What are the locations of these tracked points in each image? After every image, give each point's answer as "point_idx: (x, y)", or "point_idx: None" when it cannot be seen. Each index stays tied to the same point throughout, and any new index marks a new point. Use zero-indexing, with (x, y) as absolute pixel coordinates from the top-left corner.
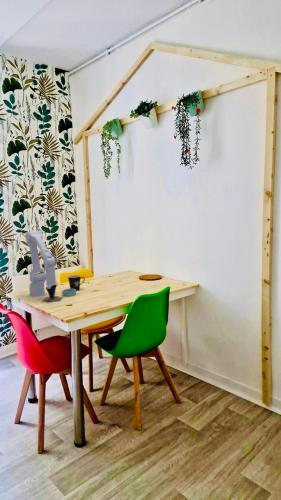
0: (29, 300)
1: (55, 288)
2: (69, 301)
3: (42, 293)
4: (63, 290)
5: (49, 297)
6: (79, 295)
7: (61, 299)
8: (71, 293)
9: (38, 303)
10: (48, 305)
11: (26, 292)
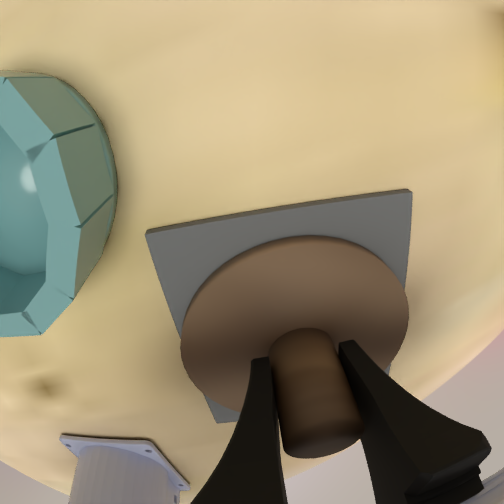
0: None
1: (278, 466)
2: (393, 42)
3: (132, 466)
4: (4, 319)
5: None
6: (9, 20)
7: (307, 208)
8: (53, 100)
9: None
10: (492, 278)
11: None
